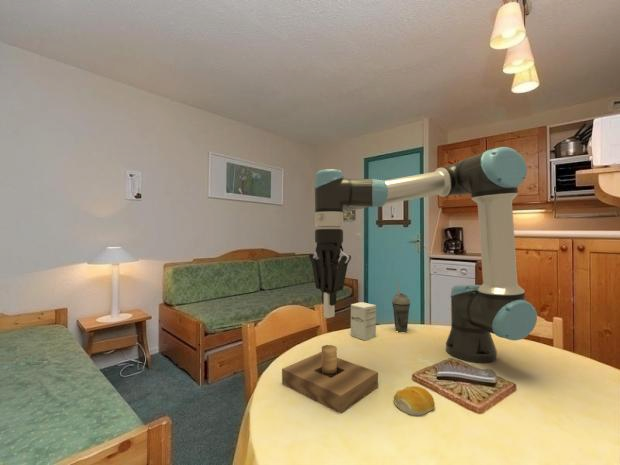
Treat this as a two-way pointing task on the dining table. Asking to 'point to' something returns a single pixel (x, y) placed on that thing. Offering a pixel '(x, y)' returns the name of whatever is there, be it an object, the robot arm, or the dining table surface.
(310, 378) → the board
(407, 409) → the bread roll
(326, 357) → the dowel
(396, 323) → the beverage cup
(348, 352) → the dining table surface
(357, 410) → the dining table surface
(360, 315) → the supplement box
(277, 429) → the dining table surface
